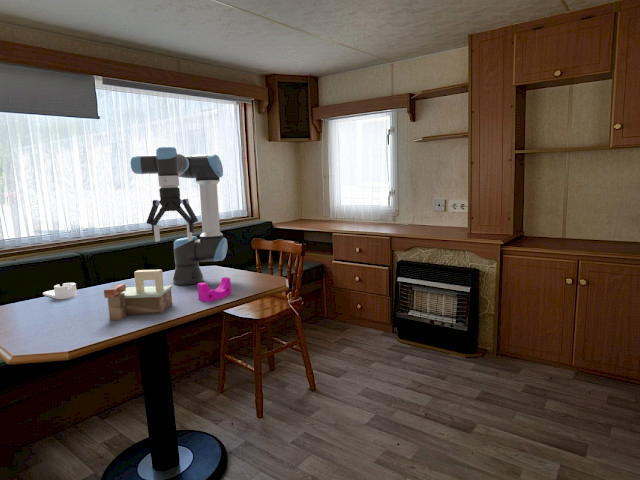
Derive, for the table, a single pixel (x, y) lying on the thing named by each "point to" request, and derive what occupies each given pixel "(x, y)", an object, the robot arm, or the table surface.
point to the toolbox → (137, 305)
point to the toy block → (218, 293)
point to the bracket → (62, 291)
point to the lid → (149, 290)
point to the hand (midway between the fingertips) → (173, 241)
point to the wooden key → (114, 291)
